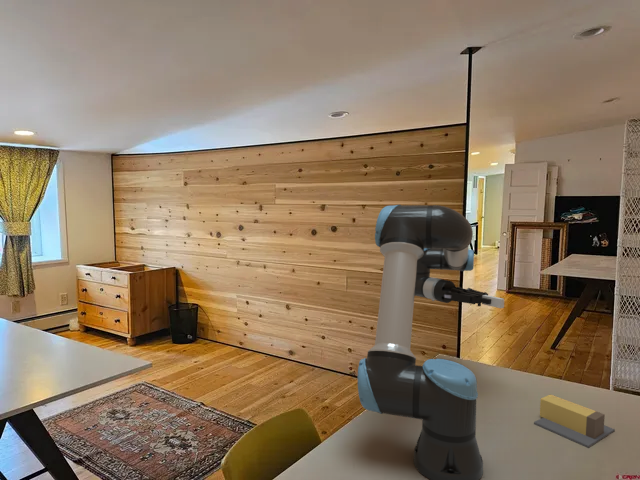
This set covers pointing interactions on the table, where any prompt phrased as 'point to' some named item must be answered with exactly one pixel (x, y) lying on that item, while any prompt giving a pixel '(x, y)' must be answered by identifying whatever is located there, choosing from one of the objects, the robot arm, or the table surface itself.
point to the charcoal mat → (572, 432)
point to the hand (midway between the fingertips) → (502, 303)
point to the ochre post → (572, 416)
